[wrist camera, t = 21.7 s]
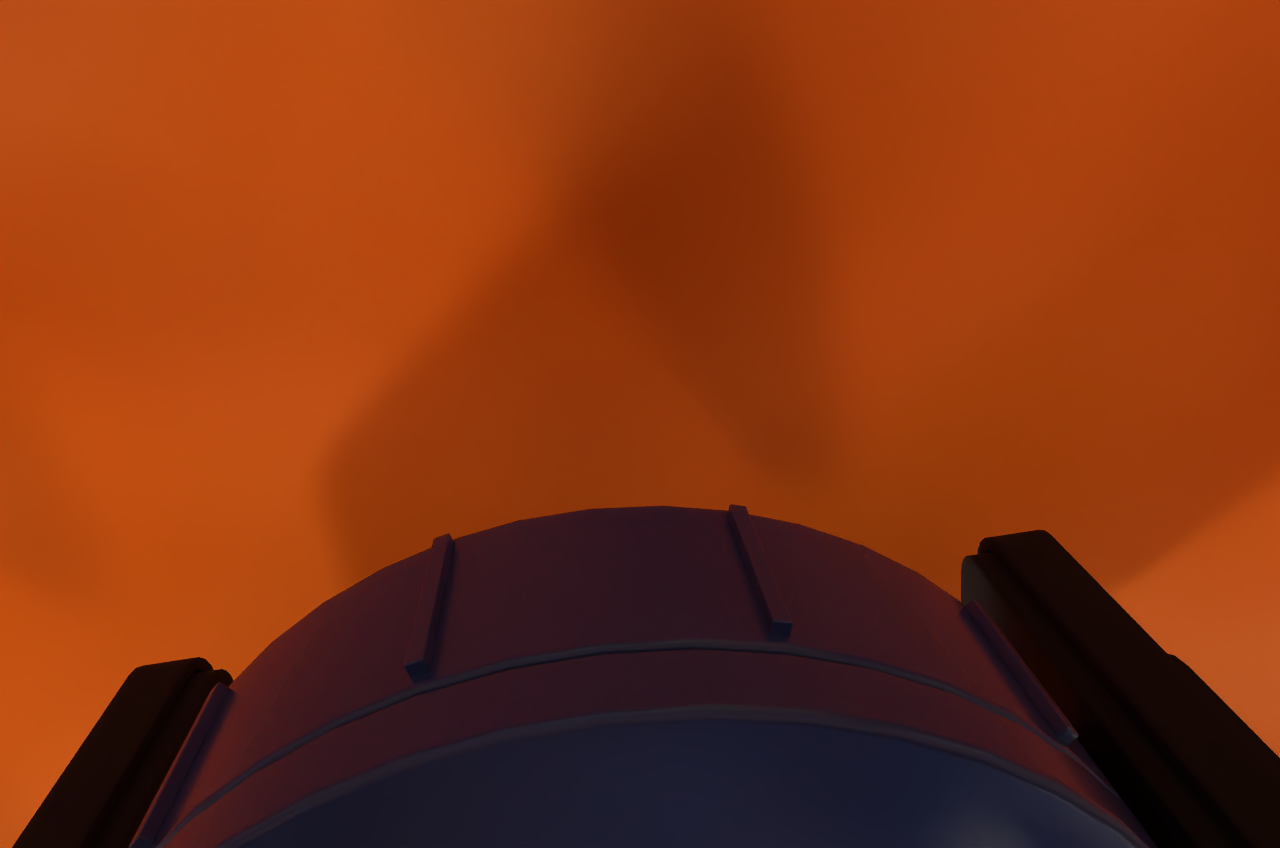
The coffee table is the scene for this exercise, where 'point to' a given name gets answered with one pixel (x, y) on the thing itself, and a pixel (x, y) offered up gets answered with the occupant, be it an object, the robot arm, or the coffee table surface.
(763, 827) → the jar lid
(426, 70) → the coffee table surface
